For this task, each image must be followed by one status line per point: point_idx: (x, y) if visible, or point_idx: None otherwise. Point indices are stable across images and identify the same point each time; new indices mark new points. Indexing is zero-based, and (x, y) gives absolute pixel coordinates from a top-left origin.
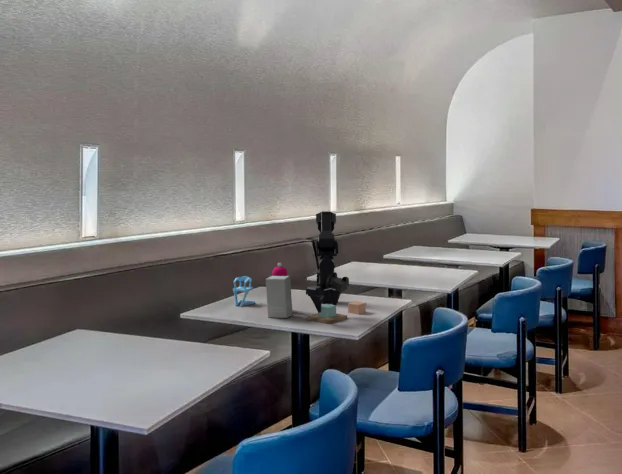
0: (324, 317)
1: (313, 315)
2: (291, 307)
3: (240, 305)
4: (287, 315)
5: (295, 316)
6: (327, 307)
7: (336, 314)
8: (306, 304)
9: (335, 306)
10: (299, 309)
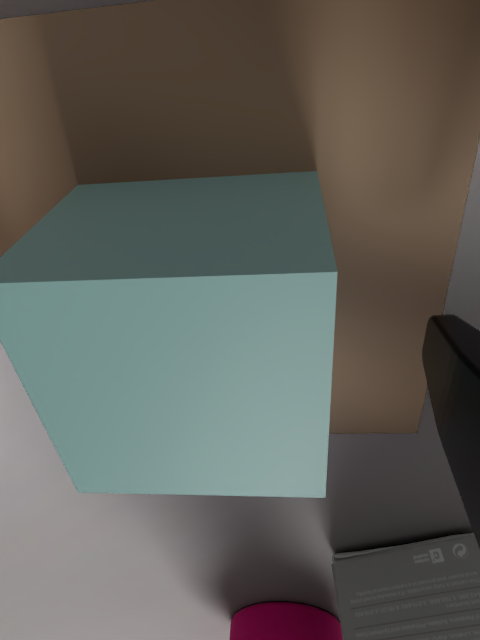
0: None
1: None
2: (365, 632)
3: None
4: (469, 555)
5: (351, 521)
6: (326, 294)
7: None
8: (16, 612)
9: (14, 270)
10: (146, 587)
